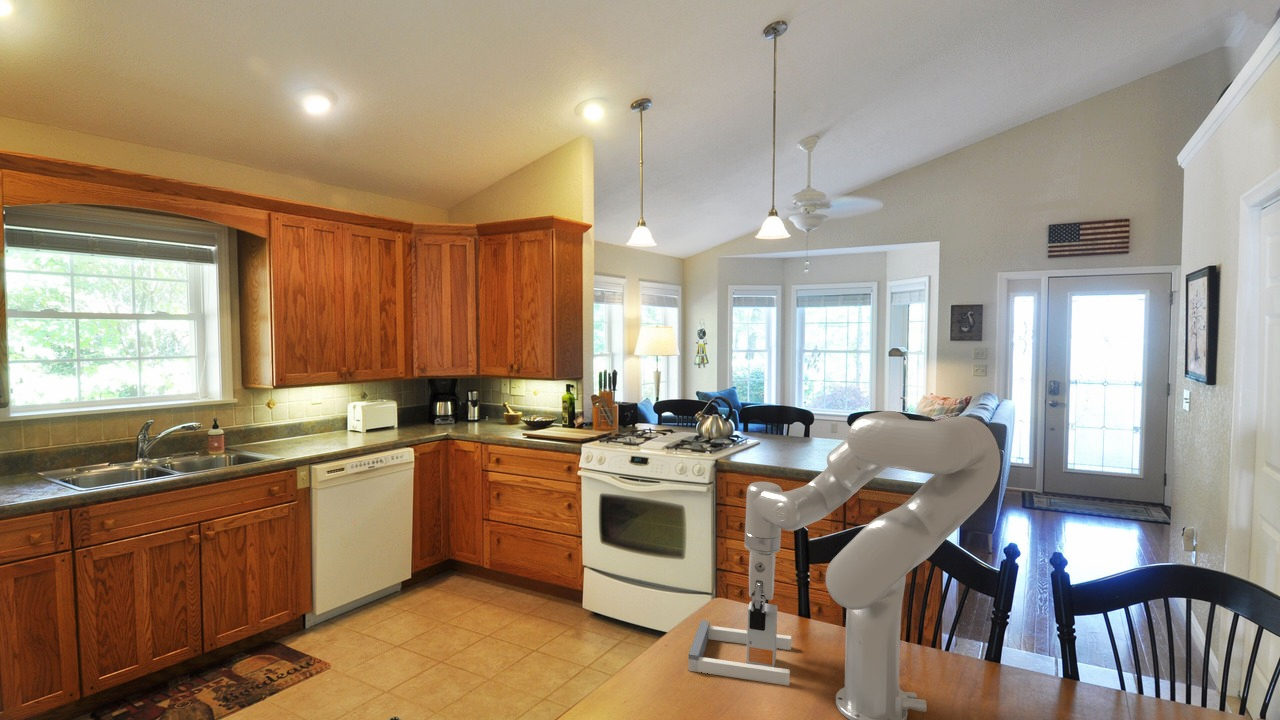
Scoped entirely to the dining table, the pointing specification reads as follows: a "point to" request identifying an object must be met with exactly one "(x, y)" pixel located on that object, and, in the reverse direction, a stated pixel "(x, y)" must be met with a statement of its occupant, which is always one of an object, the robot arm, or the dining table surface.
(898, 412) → the robot arm
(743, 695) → the dining table surface
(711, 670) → the guide channel
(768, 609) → the skincare box
